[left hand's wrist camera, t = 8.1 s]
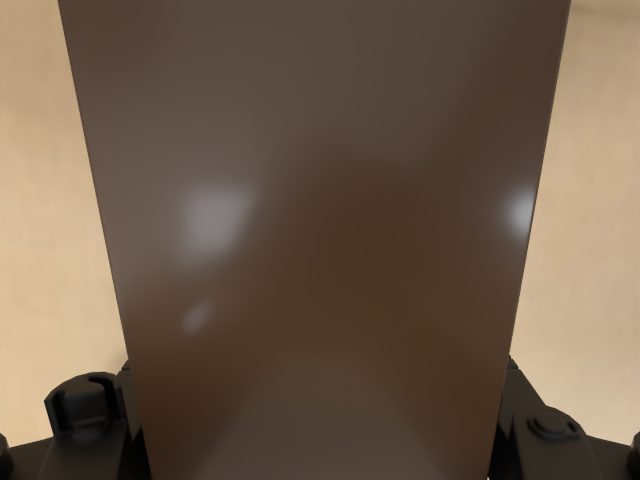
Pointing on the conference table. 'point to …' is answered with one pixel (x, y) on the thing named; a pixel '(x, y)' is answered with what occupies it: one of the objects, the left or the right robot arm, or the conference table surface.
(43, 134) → the conference table surface
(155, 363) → the post
